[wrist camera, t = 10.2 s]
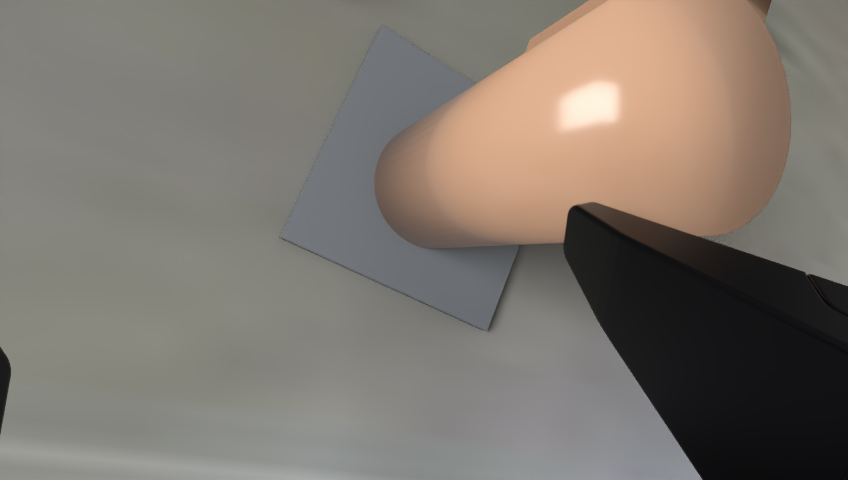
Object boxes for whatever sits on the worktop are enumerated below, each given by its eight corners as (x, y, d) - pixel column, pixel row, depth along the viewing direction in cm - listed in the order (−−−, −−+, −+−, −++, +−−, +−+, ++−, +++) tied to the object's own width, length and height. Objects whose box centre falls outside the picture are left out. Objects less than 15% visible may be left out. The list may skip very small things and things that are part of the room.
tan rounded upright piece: (462, 268, 24) (753, 279, 11) (353, 214, 22) (558, 155, 9) (522, 116, 25) (837, -22, 13) (425, 54, 23) (683, -179, 11)
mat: (481, 329, 25) (486, 331, 24) (279, 237, 21) (281, 237, 21) (554, 141, 26) (560, 139, 26) (378, 29, 23) (382, 24, 23)
